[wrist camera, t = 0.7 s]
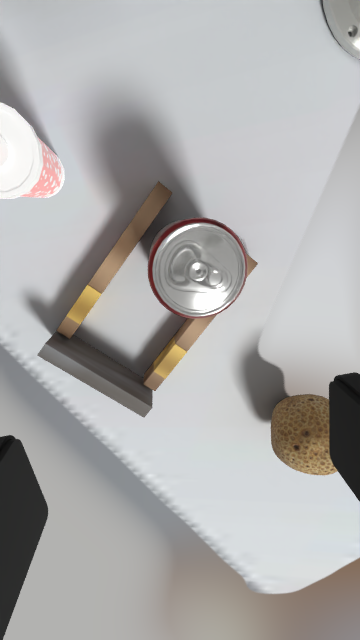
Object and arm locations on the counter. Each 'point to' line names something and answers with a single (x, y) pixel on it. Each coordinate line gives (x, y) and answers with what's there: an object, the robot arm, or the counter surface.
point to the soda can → (197, 267)
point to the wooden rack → (100, 367)
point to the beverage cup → (26, 160)
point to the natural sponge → (303, 434)
